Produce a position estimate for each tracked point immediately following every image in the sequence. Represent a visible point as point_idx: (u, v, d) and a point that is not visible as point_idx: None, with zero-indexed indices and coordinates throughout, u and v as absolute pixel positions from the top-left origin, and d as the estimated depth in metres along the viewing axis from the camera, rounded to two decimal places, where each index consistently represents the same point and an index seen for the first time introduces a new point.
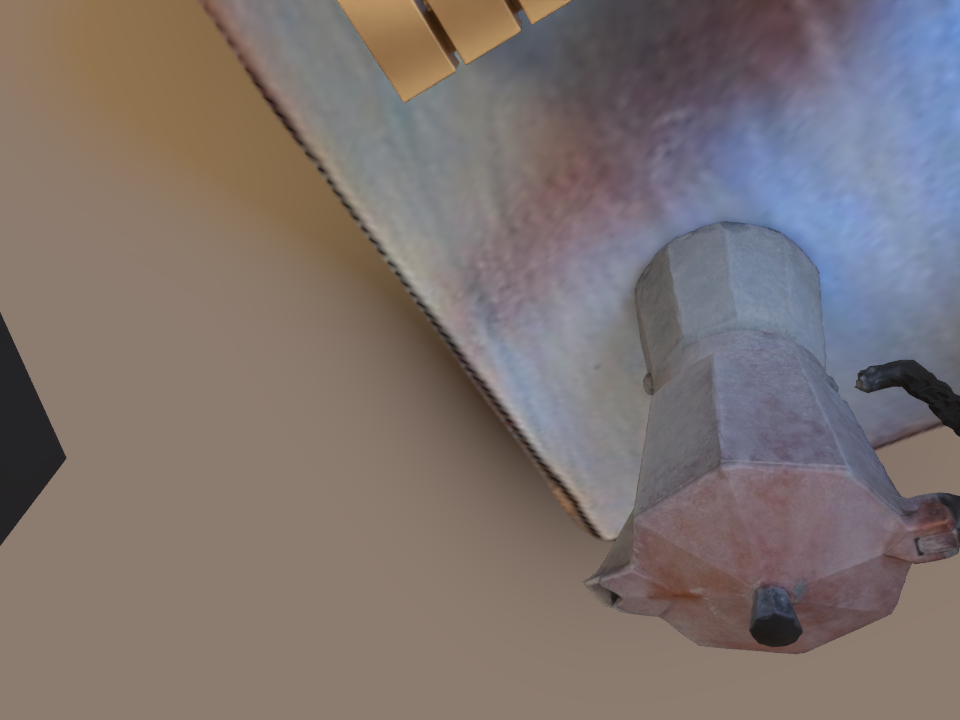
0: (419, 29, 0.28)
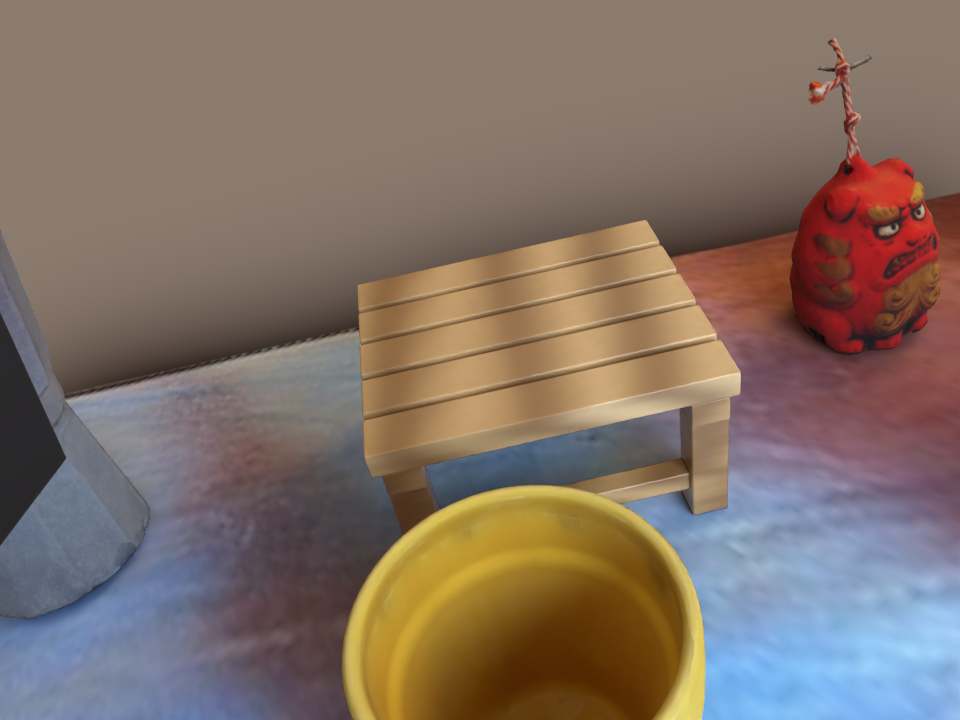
0: (394, 296, 0.41)
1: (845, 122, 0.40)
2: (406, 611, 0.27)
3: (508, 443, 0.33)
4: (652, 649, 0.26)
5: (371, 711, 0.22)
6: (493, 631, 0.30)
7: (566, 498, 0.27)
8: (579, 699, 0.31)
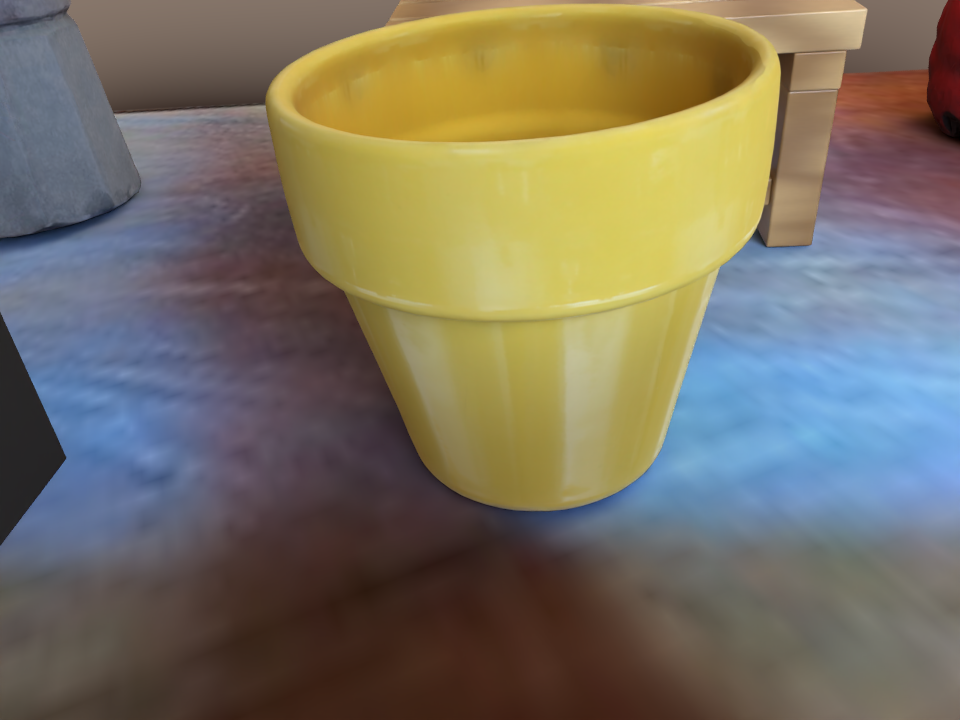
0: None
1: None
2: (381, 129, 0.21)
3: None
4: None
5: (293, 106, 0.16)
6: None
7: (616, 14, 0.20)
8: None
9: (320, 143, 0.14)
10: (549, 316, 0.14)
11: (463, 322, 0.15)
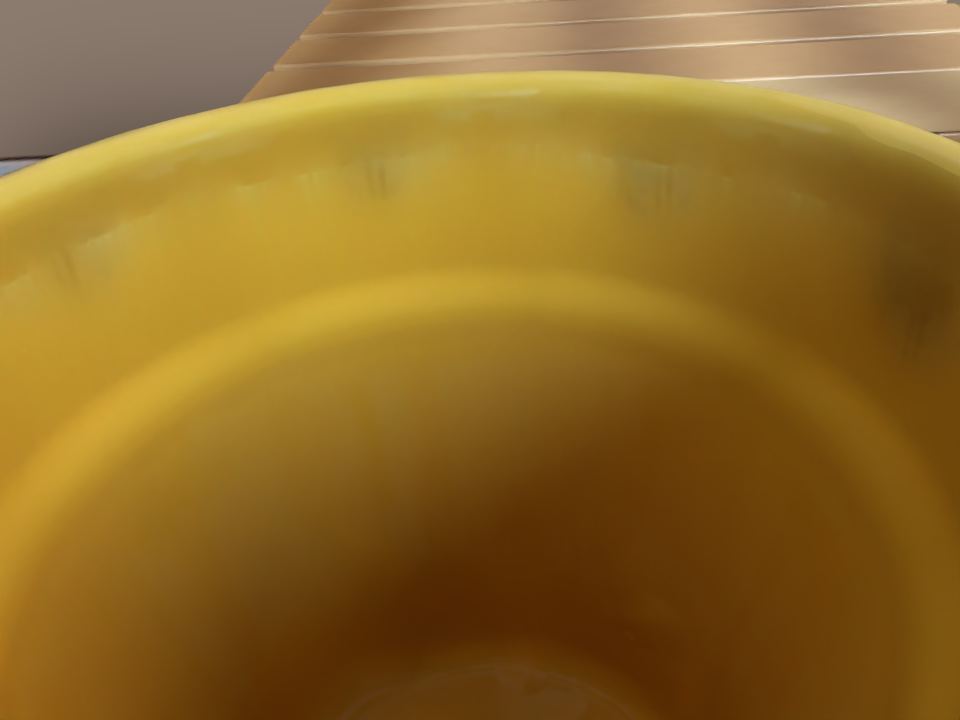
0: None
1: None
2: (169, 326, 0.10)
3: None
4: (828, 552, 0.09)
5: None
6: (405, 475, 0.12)
7: (652, 97, 0.10)
8: (578, 692, 0.13)
9: None
10: None
11: None
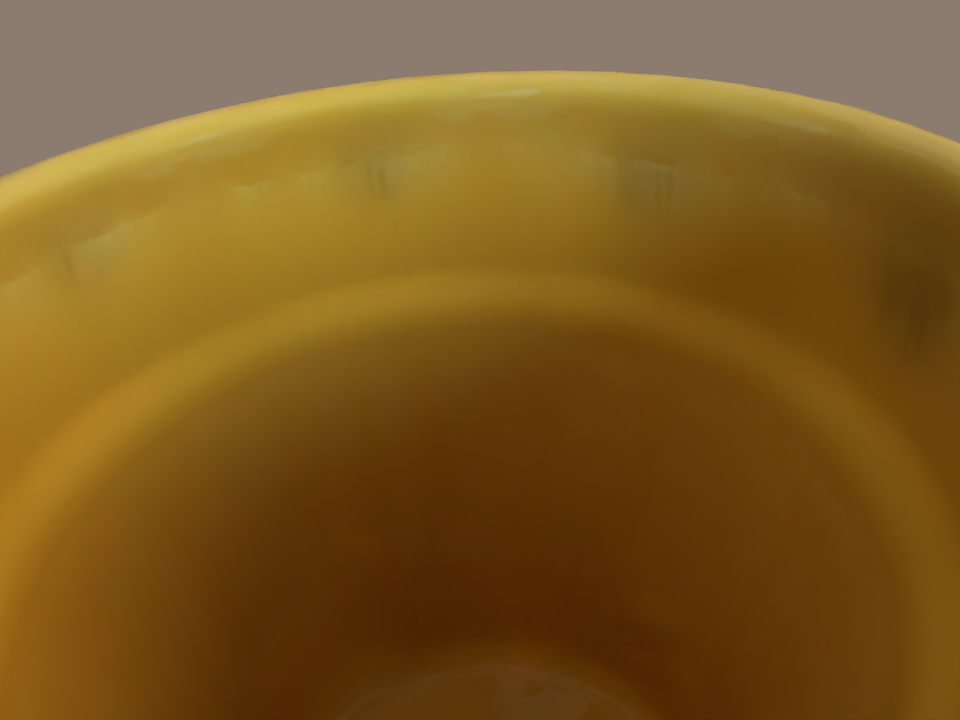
0: None
1: None
2: (168, 327, 0.10)
3: None
4: (827, 553, 0.09)
5: None
6: (405, 476, 0.12)
7: (652, 97, 0.10)
8: (578, 693, 0.13)
9: None
10: None
11: None
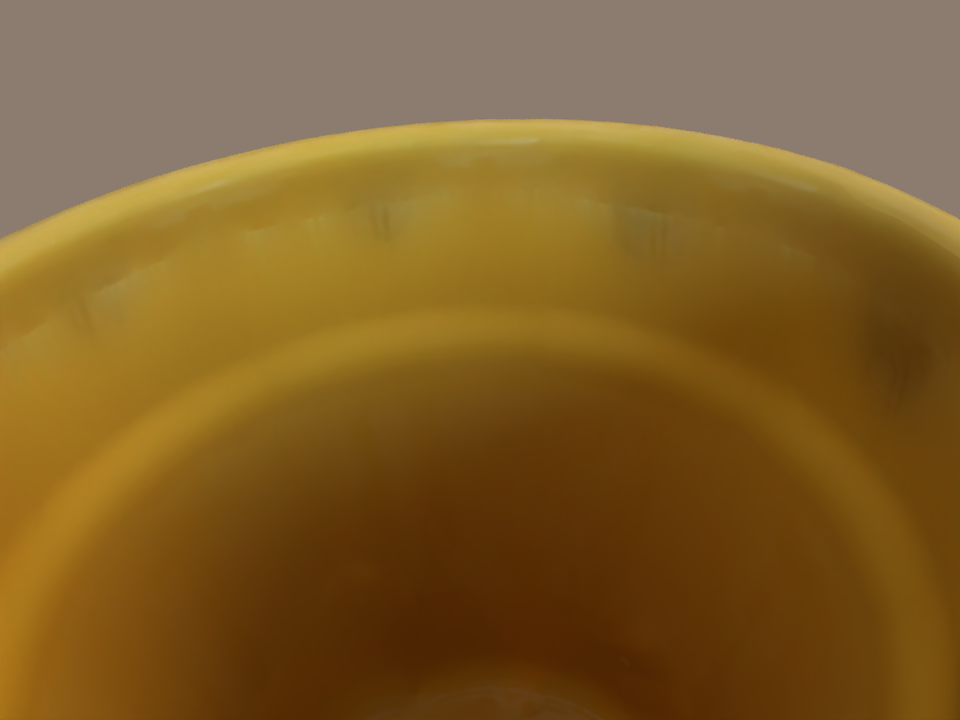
0: None
1: None
2: (179, 366, 0.10)
3: None
4: (814, 593, 0.09)
5: None
6: (407, 504, 0.13)
7: (647, 148, 0.10)
8: (575, 716, 0.13)
9: None
10: None
11: None
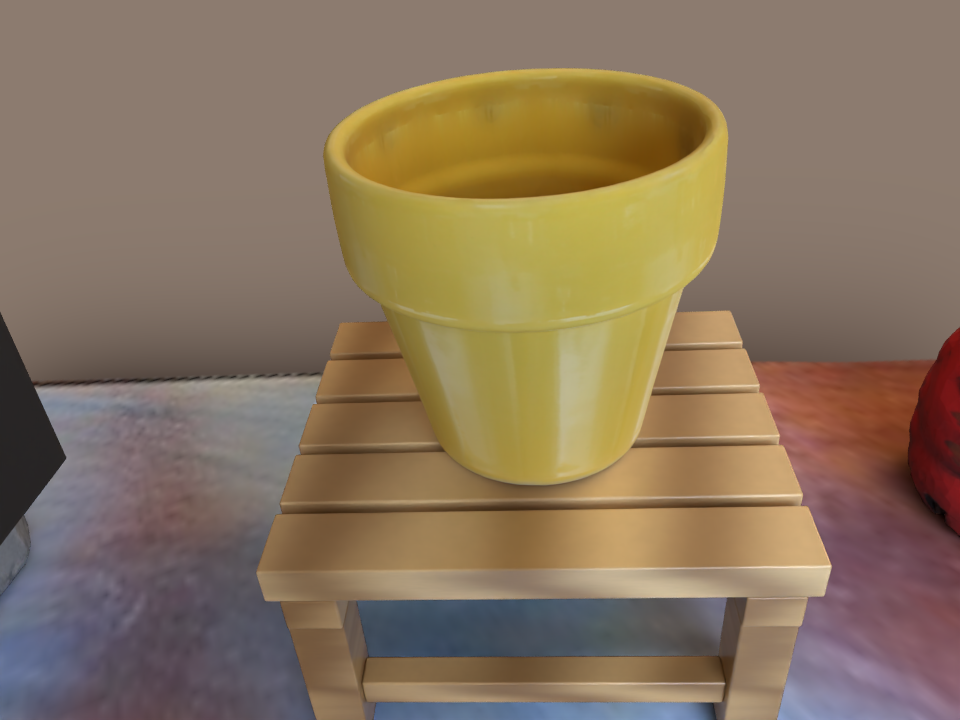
0: (378, 347, 0.31)
1: None
2: (408, 171, 0.25)
3: (466, 595, 0.22)
4: None
5: (346, 162, 0.20)
6: None
7: (602, 78, 0.25)
8: None
9: (373, 196, 0.19)
10: (547, 328, 0.19)
11: (480, 332, 0.20)
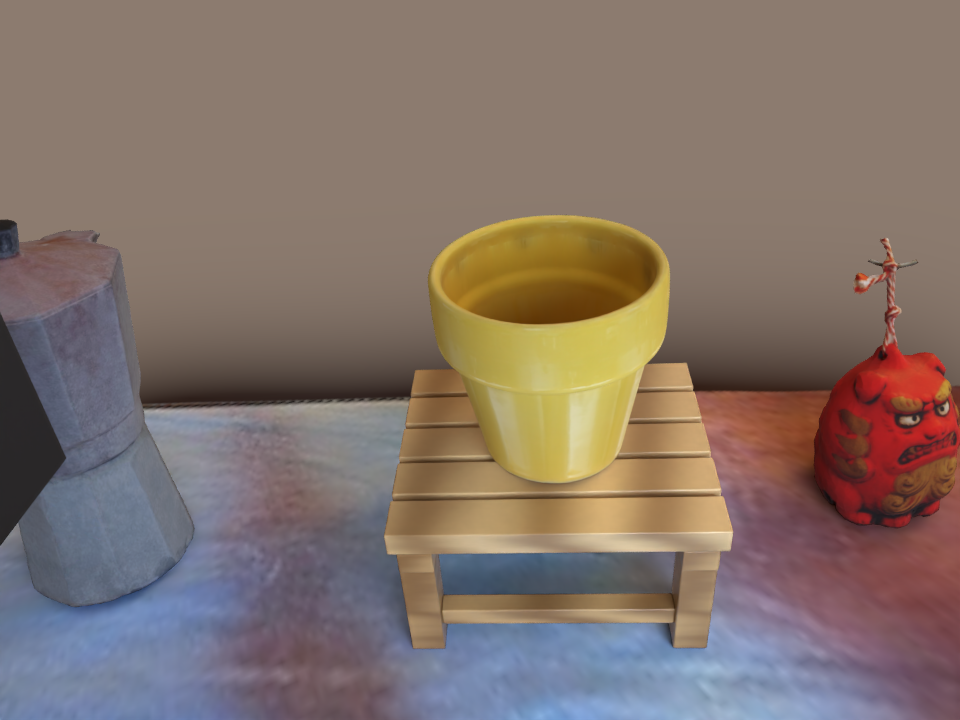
0: (444, 388, 0.45)
1: (886, 313, 0.43)
2: (471, 282, 0.39)
3: (512, 550, 0.37)
4: None
5: (444, 292, 0.35)
6: None
7: (596, 224, 0.39)
8: None
9: (464, 319, 0.33)
10: (563, 393, 0.33)
11: (523, 393, 0.34)
